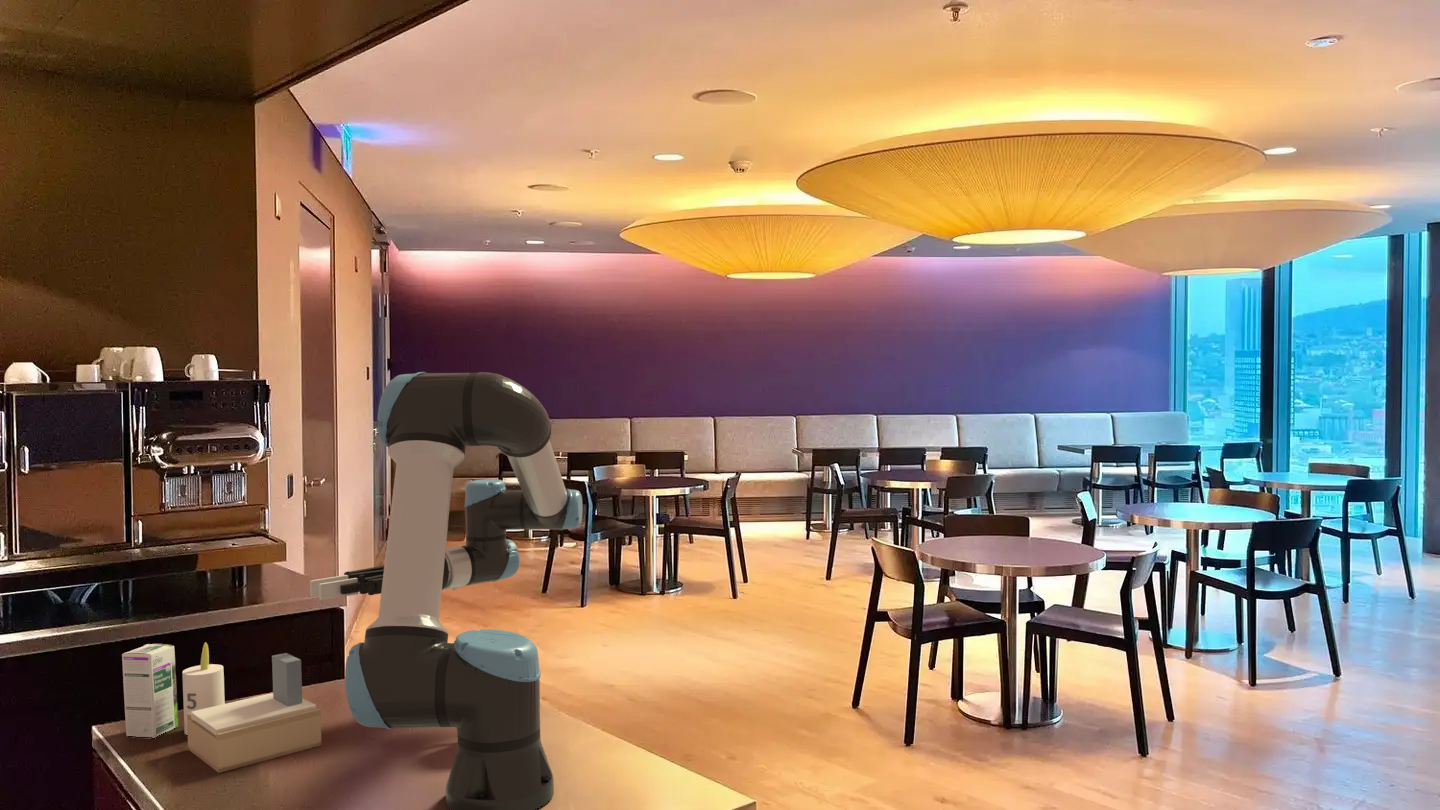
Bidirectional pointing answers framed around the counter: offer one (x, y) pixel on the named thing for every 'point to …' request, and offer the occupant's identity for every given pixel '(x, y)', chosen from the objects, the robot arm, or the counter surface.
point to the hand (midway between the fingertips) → (315, 590)
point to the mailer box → (254, 740)
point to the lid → (261, 701)
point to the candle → (202, 686)
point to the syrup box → (150, 690)
